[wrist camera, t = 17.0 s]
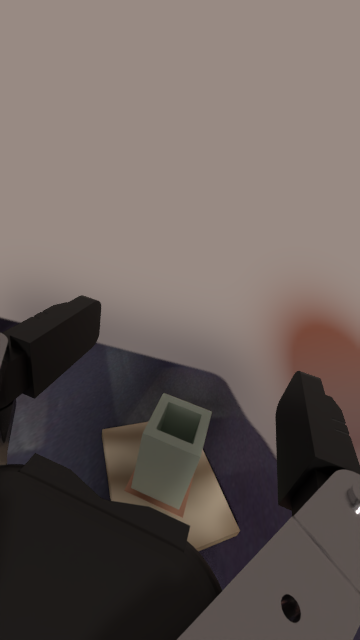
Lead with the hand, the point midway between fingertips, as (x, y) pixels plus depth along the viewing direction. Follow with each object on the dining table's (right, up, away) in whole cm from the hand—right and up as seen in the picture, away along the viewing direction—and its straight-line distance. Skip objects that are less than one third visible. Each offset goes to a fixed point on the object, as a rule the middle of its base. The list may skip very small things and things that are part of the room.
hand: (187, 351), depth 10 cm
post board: (-3, -19, +23) cm, 30 cm away
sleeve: (-2, -18, +22) cm, 29 cm away
